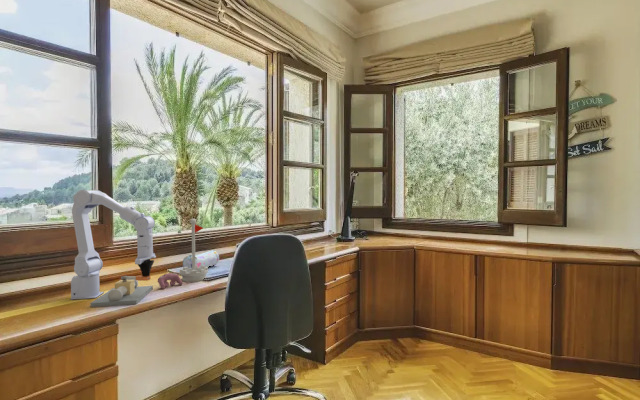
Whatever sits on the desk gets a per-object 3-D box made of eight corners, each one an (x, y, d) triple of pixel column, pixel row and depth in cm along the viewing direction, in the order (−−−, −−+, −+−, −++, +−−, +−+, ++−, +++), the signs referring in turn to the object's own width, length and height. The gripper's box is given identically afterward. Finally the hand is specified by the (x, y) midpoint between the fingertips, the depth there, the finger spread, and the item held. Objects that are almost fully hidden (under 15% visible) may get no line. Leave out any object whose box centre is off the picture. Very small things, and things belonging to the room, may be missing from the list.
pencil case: (192, 273, 189) (192, 255, 188) (180, 272, 193) (180, 254, 192) (220, 266, 207) (220, 250, 207) (209, 265, 211) (209, 249, 211)
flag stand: (185, 283, 167) (183, 219, 166) (176, 278, 177) (175, 218, 177) (212, 279, 175) (211, 218, 175) (202, 274, 185) (201, 217, 185)
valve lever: (119, 280, 145) (119, 276, 145) (123, 278, 148) (123, 275, 148) (146, 280, 144) (146, 277, 144) (150, 279, 146) (150, 275, 146)
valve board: (90, 307, 133) (90, 288, 133) (113, 291, 155) (113, 275, 155) (136, 304, 136) (136, 286, 136) (152, 289, 158) (152, 273, 157)
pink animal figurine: (179, 287, 166) (175, 273, 168) (183, 284, 164) (180, 269, 166) (158, 291, 159) (154, 277, 161) (163, 288, 156) (159, 273, 158)
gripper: (147, 248, 140) (148, 282, 140) (161, 242, 154) (162, 274, 154) (129, 248, 139) (130, 283, 140) (145, 243, 154) (145, 274, 154)
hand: (146, 278), depth 147 cm, fingers closed, pressing on valve lever
